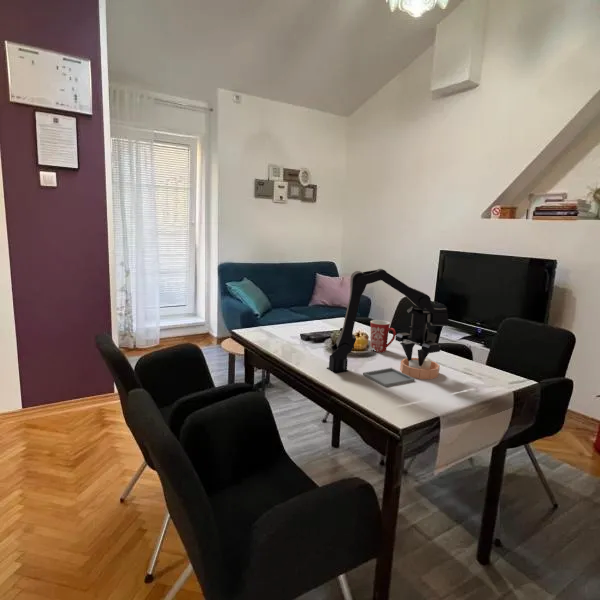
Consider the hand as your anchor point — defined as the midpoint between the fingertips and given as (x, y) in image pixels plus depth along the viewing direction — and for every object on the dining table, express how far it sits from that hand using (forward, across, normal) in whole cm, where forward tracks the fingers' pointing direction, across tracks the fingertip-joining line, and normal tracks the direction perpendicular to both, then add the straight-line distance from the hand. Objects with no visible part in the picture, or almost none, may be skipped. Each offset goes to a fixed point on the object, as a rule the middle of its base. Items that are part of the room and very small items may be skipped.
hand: (414, 363), depth 164 cm
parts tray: (+4, 0, +13) cm, 14 cm away
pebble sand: (+4, 0, -6) cm, 7 cm away
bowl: (+4, 0, -3) cm, 5 cm away
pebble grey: (+4, 0, 0) cm, 4 cm away
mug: (+5, +29, -8) cm, 30 cm away
